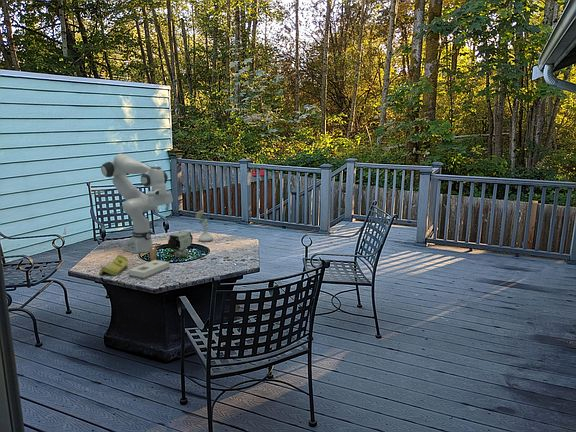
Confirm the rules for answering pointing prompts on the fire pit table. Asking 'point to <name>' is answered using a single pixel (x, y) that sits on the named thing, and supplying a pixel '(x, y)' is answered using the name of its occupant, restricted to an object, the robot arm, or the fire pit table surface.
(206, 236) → the flower in vase
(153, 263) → the fitting block
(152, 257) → the brown cylinder
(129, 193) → the robot arm
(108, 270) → the plastic component
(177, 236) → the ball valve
